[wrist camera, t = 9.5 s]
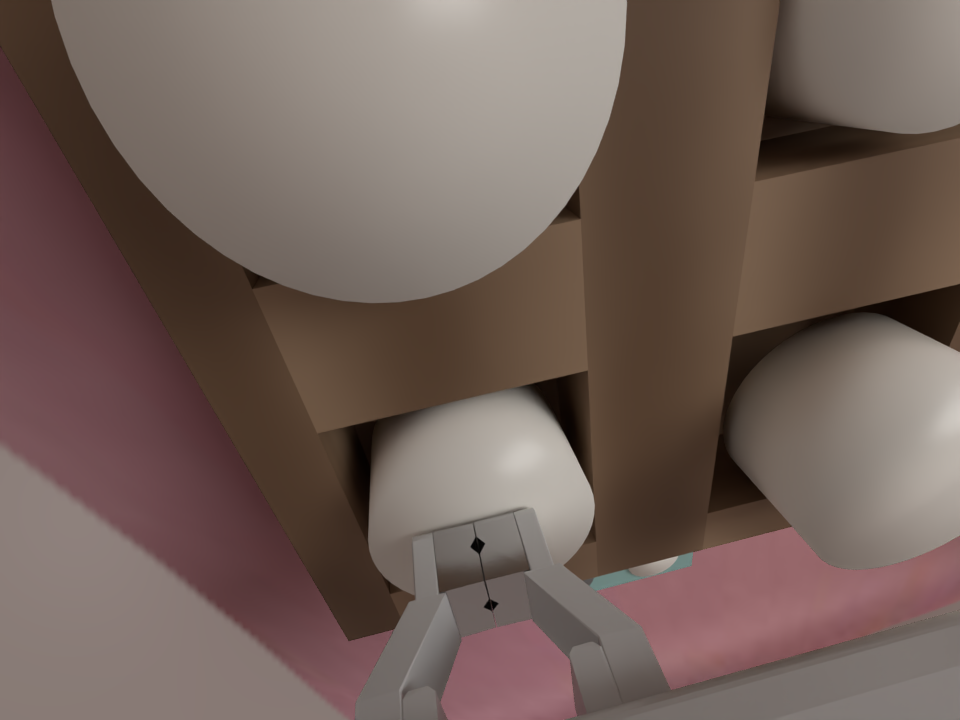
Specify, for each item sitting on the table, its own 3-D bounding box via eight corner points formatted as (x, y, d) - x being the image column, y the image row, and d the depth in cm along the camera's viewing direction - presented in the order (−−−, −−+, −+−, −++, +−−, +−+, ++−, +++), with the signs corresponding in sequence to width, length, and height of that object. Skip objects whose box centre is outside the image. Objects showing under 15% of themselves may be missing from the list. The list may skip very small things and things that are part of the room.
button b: (521, -222, 6) (627, -449, 4) (553, 197, 9) (626, 253, 7) (98, -155, 6) (-149, -346, 3) (269, 257, 9) (217, 343, 6)
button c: (941, 291, 12) (1108, 358, 10) (879, 450, 15) (992, 538, 13) (736, 339, 12) (845, 424, 9) (713, 492, 15) (791, 591, 12)
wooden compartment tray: (1090, -397, 9) (1509, -672, 6) (838, 418, 20) (930, 490, 16) (-6, -236, 8) (-296, -460, 5) (355, 536, 19) (348, 641, 15)
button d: (546, 343, 13) (590, 419, 10) (560, 483, 16) (598, 572, 13) (346, 389, 13) (335, 479, 10) (398, 523, 16) (401, 622, 13)
